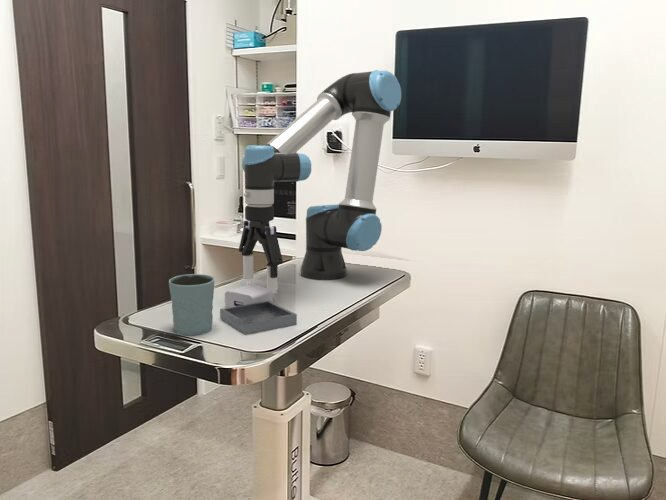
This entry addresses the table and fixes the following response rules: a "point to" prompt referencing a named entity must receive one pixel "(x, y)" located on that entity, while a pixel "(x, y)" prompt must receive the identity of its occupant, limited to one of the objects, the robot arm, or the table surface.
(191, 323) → the green cup
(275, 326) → the gray square tray
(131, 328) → the table surface
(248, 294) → the charger
